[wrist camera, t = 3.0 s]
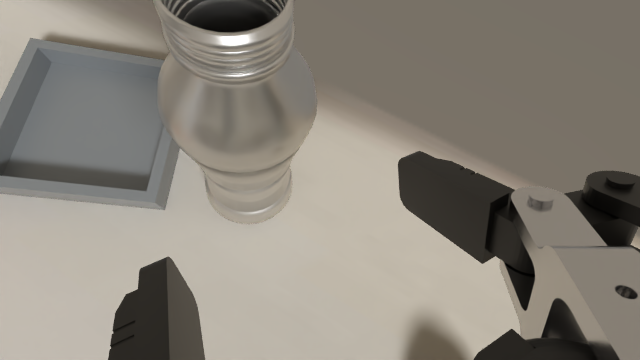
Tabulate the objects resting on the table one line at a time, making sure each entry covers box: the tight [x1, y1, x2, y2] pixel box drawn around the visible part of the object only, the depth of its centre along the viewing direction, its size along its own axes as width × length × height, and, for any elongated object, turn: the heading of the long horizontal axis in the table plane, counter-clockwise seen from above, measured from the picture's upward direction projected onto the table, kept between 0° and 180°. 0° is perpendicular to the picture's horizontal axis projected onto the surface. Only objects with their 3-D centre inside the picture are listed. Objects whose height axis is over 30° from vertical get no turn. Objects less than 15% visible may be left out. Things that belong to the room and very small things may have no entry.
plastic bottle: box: [153, 0, 317, 224], centre depth 17 cm, size 6×7×20 cm
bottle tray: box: [0, 38, 180, 210], centre depth 25 cm, size 13×13×2 cm
